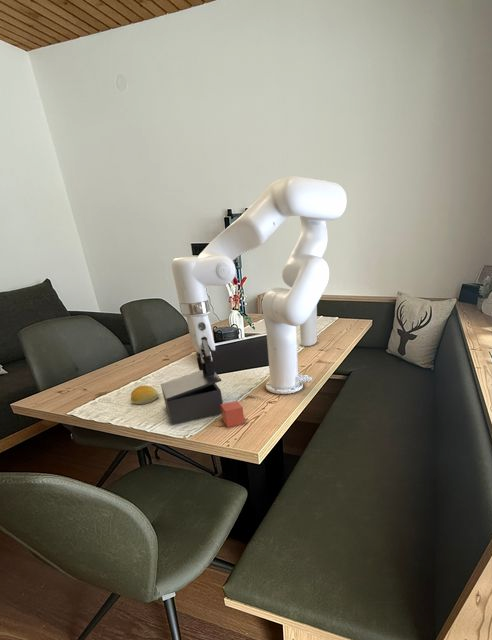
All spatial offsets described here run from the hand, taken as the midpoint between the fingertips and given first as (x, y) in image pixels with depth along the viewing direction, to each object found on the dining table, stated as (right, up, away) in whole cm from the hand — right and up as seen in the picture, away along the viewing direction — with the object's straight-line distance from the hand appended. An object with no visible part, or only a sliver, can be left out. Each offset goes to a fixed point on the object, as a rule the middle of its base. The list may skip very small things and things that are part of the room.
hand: (206, 371), depth 105 cm
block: (+8, -15, -3) cm, 17 cm away
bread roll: (-24, -7, +13) cm, 28 cm away
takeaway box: (-5, -11, +4) cm, 13 cm away
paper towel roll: (+32, +23, +60) cm, 72 cm away
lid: (-5, -4, 0) cm, 6 cm away
